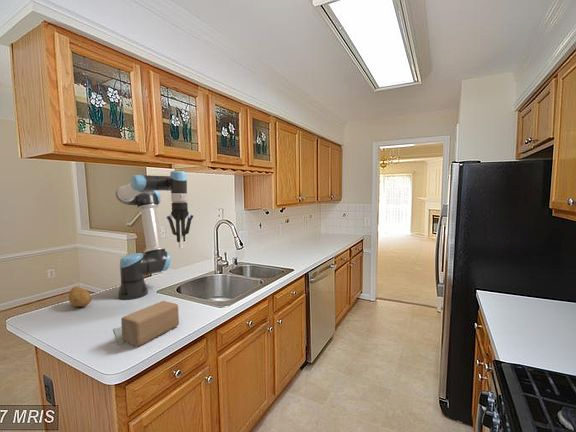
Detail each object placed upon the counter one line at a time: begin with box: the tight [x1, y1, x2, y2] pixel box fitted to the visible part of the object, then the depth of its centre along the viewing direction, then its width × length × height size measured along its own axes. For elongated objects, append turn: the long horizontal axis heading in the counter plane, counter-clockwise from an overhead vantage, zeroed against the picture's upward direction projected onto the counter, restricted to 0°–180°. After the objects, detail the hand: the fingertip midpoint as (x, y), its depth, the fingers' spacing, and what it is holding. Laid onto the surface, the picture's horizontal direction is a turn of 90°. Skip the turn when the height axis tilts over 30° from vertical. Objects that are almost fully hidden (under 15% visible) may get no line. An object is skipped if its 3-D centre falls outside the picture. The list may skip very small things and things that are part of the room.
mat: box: [113, 326, 174, 346], centre depth 122 cm, size 16×20×1 cm
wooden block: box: [121, 300, 180, 347], centre depth 118 cm, size 10×10×20 cm
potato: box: [68, 286, 92, 308], centre depth 148 cm, size 9×16×9 cm, turn 48°
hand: (181, 248), depth 146 cm, fingers closed
